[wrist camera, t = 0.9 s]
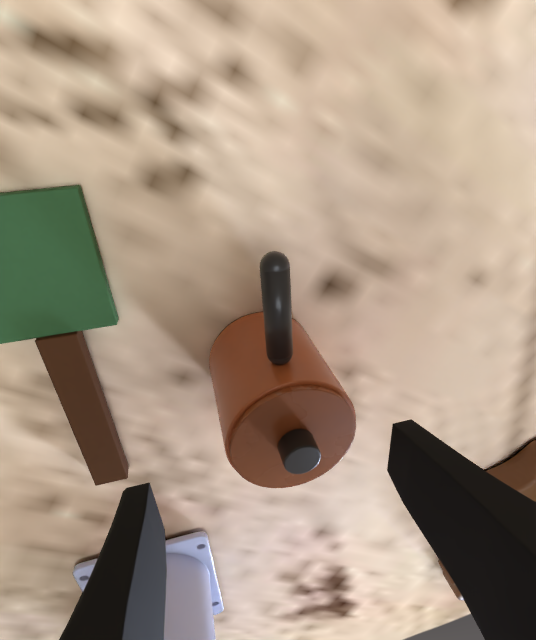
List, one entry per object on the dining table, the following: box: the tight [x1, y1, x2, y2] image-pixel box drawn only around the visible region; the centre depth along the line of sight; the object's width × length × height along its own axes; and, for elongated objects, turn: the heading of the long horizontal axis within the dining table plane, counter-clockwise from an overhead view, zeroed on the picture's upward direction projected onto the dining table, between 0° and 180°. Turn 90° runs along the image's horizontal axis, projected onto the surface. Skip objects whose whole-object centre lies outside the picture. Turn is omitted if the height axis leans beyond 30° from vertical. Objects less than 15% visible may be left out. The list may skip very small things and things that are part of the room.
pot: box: [209, 251, 356, 488], centre depth 16 cm, size 10×5×7 cm, turn 4°
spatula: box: [0, 185, 129, 485], centre depth 17 cm, size 14×5×1 cm, turn 4°
